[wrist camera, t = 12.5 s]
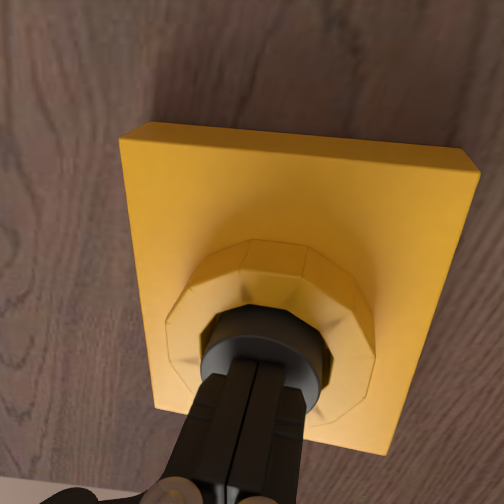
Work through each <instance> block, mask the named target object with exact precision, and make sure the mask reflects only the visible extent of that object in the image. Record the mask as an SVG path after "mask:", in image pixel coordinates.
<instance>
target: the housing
mask: <svg viewBox="0 0 504 504" xmlns="http://www.w3.org/2000/svg"><path fill="white" fill-rule="evenodd" d="M119 146H120V153H121V160H122V168H123V175H124V183H125V190H126V197H127V205H128V212H129V220H130V227H131V234H132V242H133V249H134V256H135V264H136V271H137V279H138V286H139V293H140V301H141V308H142V316H143V323H144V330H145V338H146V345H147V353H148V360H149V367H150V375H151V382H152V389H153V397H154V404H155V408H158V409H162V410H167V411H172V412H177V413H182V414H186V415H188V413H189V410H190V408H191V405H192V404H193V400H194V398H195V395H196V393H197V391H198V388H199V386H200V384H201V383H202V379H201V375H200V363H201V359H202V357H203V355H204V352H205V350H206V348H207V345H208V343H209V341H210V338H211V336H212V334H213V332H214V329H215V327H216V325H217V322H218V320H219V318H220V315H221V313H222V312H224V311H227V310H230V309H233V308H237V307H240V306H243V305H246V304H253V305H260V306H266V307H273V308H279V309H285V310H287V311H289V312H291V313H292V314H294V315H295V316H297V317H298V318H300V319H301V320H303V321H305V322H306V323H308V324H309V325H311V326H312V327H314V328H315V329H317V330H319V332H320V334H321V335H322V337H323V339H324V341H325V345H324V357H323V369H322V381H321V393H320V397H319V399H318V401H317V403H316V405H315V406H314V407H313V409H312V410H311V411H310V412H309V413H307V414H306V417H305V425H304V434H303V439H307V440H311V441H316V442H321V443H326V444H331V445H335V446H340V447H345V448H350V449H355V450H359V451H364V452H369V453H374V454H379V455H384V456H386V455H387V453H388V450H389V447H390V444H391V441H392V438H393V435H394V432H395V429H396V426H397V423H398V420H399V417H400V414H401V411H402V408H403V405H404V402H405V399H406V396H407V393H408V390H409V387H410V384H411V381H412V378H413V375H414V372H415V369H416V366H417V363H418V360H419V357H420V354H421V351H422V348H423V345H424V342H425V339H426V336H427V333H428V331H429V328H430V325H431V322H432V319H433V316H434V313H435V310H436V307H437V304H438V301H439V298H440V295H441V292H442V289H443V286H444V283H445V280H446V277H447V274H448V271H449V268H450V265H451V262H452V259H453V256H454V253H455V250H456V247H457V244H458V241H459V238H460V235H461V232H462V229H463V226H464V223H465V220H466V217H467V214H468V211H469V208H470V205H471V202H472V199H473V196H474V193H475V190H476V187H477V184H478V181H479V178H480V175H481V172H480V171H479V169H478V168H477V167H476V166H475V164H474V163H473V162H472V161H471V159H470V158H469V157H468V156H467V155H466V153H465V152H464V151H463V150H462V149H461V148H451V147H439V146H428V145H416V144H405V143H393V142H382V141H370V140H359V139H347V138H336V137H324V136H313V135H301V134H290V133H278V132H267V131H255V130H244V129H232V128H221V127H209V126H197V125H186V124H174V123H163V122H151V121H150V122H148V123H146V124H144V125H142V126H140V127H138V128H136V129H135V130H133V131H131V132H129V133H127V134H125V135H123V136H121V137H120V138H119Z"/></svg>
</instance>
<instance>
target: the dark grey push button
mask: <svg viewBox="0 0 504 504" xmlns="http://www.w3.org/2000/svg"><path fill="white" fill-rule="evenodd" d="M324 345H325V341H324V339H323V337H322V335H321V334H320V332H319V330H317V329H315V328H314V327H312V326H311V325H309V324H308V323H306V322H305V321H303V320H301V319H300V318H298V317H297V316H295V315H294V314H292V313H291V312H289V311H287V310H285V309H279V308H273V307H266V306H260V305H253V304H246V305H243V306H240V307H237V308H233V309H230V310H227V311H224V312H222V313H221V315H220V318H219V320H218V322H217V325H216V327H215V329H214V332H213V334H212V336H211V338H210V341H209V343H208V345H207V348H206V350H205V352H204V355H203V357H202V359H201V363H200V375H201V379H202V382H203V381H204V380H205V379H206V378H207V377H208V376H209V375H210V374H211V373H212V372H213V373H219V374H224V375H227V373H228V370H229V367H230V365H231V362H232V359H233V358H234V357H237V358H243V359H248V360H254V361H259V364H260V362H266V363H271V364H277V365H282V366H285V377H284V386H288V387H294V388H299V389H301V390H302V393H303V396H304V399H305V402H306V405H307V408H306V414H307V413H309V412H310V411H311V410H312V409H313V407H314V406H315V405H316V403H317V401H318V399H319V397H320V393H321V381H322V369H323V357H324Z"/></svg>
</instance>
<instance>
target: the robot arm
mask: <svg viewBox="0 0 504 504" xmlns="http://www.w3.org/2000/svg"><path fill="white" fill-rule="evenodd" d="M284 377H285V366H282V365H277V364H271V363H266V362H260V364H259V361H254V360H248V359H243V358H237V357H234V358H233V359H232V362H231V365H230V367H229V370H228V373H227V375H224V374H219V373H213V372H212V373H211V374H210V375H209V376H208V377H207V378H206V379H205V380H204V381H203V382H202V383H201V384H200V386H199V388H198V391H197V393H196V395H195V398H194V400H193V404H192V405H191V408H190V410H189V413H188V416H187V418H186V420H185V422H184V425H183V427H182V430H181V432H180V434H179V437H178V439H177V442H176V444H175V447H174V449H173V452H172V454H171V456H170V459H169V461H168V464H167V466H166V469H165V471H164V473H163V474H162V476H161V477H160V479H159V480H158V481H157V482H156V483H155V484H153V485H152V486H151V487H150V488H149V489H148V490H146V491H145V492H143V493H141V494H139V495H136V496H133V497H128V498H120V499H113V500H104V501H98V499H97V497H96V496H95V495H94V494H93V493H92V492H91V491H89V490H88V489H84V488H79V487H74V488H68V489H65V490H62V491H60V492H58V493H56V494H54V495H53V496H51V497H49V498H48V499H46V500H44V501H43V502H41V503H40V504H296V495H297V486H298V477H299V469H300V460H301V452H302V443H303V434H304V425H305V417H306V408H307V405H306V402H305V399H304V396H303V393H302V390H301V389H299V388H294V387H288V386H284Z"/></svg>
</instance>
